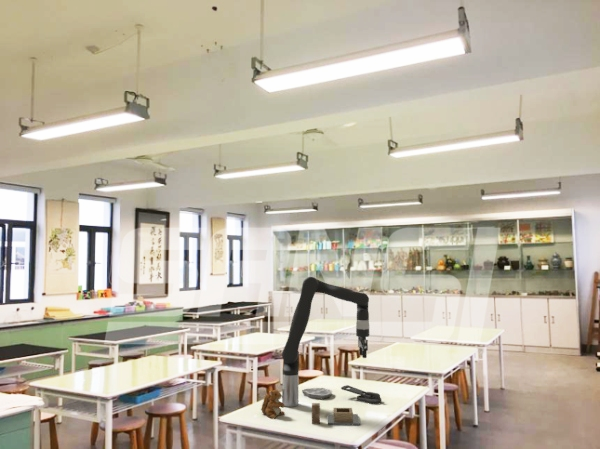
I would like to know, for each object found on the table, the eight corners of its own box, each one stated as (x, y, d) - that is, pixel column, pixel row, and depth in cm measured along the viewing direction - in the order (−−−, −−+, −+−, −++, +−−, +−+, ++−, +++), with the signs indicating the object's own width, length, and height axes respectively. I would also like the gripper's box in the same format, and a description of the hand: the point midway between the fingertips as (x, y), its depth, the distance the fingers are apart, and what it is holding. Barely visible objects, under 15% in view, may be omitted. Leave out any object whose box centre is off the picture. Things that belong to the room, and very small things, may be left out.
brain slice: (339, 396, 296) (339, 391, 296) (321, 401, 283) (321, 396, 283) (315, 391, 308) (315, 386, 309) (297, 396, 296) (297, 391, 296)
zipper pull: (347, 384, 297) (383, 390, 281) (347, 395, 296) (383, 401, 281) (339, 387, 289) (376, 393, 274) (339, 398, 289) (376, 405, 274)
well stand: (327, 425, 237) (327, 414, 237) (327, 415, 253) (327, 406, 253) (360, 425, 236) (359, 415, 237) (357, 416, 252) (357, 406, 253)
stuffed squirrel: (274, 419, 247) (274, 393, 248) (255, 414, 256) (255, 389, 257) (287, 415, 254) (287, 389, 256) (268, 410, 263) (268, 385, 265)
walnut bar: (311, 423, 239) (311, 405, 240) (312, 421, 243) (311, 403, 244) (319, 423, 239) (319, 405, 240) (319, 421, 243) (319, 403, 244)
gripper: (353, 326, 282) (353, 354, 280) (359, 329, 268) (359, 358, 266) (366, 326, 282) (366, 354, 281) (372, 329, 268) (372, 358, 267)
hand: (362, 356), depth 273 cm, fingers open, 8 cm apart
